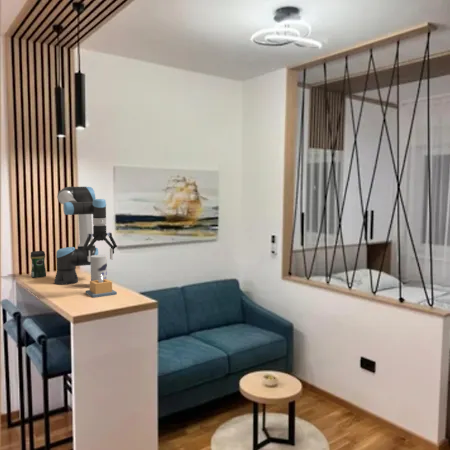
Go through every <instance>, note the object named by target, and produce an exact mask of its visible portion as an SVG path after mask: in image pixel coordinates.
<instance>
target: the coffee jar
mask: <svg viewBox="0 0 450 450" xmlns="http://www.w3.org/2000/svg"><path fill="white" fill-rule="evenodd" d="M45 252H46V251H44V250H37V251H36V250H35V251H31V252H30V259H31V272H30V273H31V274H30V275H31V278H44V277H47V272H46V271H47V270H46V264H45V259H46V253H45Z"/></svg>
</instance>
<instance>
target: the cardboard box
mask: <svg viewBox="0 0 450 450" xmlns="http://www.w3.org/2000/svg"><path fill="white" fill-rule="evenodd" d="M103 281H104V282H102V283H98V280H94V281H91V280H90V281H89V290H90V291H91V292H93V293H95V294H100V293H107V292H112V290H113V281H111V280H109V279H108V278H107V279H103Z"/></svg>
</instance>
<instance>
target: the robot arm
mask: <svg viewBox="0 0 450 450" xmlns="http://www.w3.org/2000/svg"><path fill="white" fill-rule="evenodd" d="M56 197H57V200H58V202H59V203H60V204H62V205H63V214H64V215H66V216H67V215H69V216H73V215H74V216H75V215H78V235H79V243H78V244H77V248H75V247H74V246H69V247H68V246H67V247H62V248H59V249H57V251H56V256H55V258H56V272H55V273H56V274H55V276H54V284H55V285H72V284H73V285H74V284H77V283H79V277H78V273H77V271H76V267H80V266H84V267H85V266H91V256H93V255H99V249H98V247H96V245H95V244H96V242H100V241H101V242H103V241H105V243H106V244H107V245H108V246H109V247H110V248H109V260H111V261H112V260H113V259H114V253H115V249H116V248H117V247H118V245H117V243H116V241H115V239H114V238H113V234H112V232H111V231H110V232H107V201H106V200H107V199H104V198H97V197H96V193H95V190H94V188H93V187H91V186H67V187H64V188H61V189H60V190H59V191H58V193H57V196H56ZM107 237H108V238H109V239H108V238H107ZM109 240H110V241H109Z"/></svg>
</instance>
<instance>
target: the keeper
mask: <svg viewBox="0 0 450 450" xmlns="http://www.w3.org/2000/svg"><path fill="white" fill-rule="evenodd" d="M102 282H104V281H103V275H102V274H99V275H98V283H102ZM85 294H87V295H88V296H90V297H91V298H93V299H95V298H102V297H108V296H115V295H117V294H118V293H117V291H116V290H113V289H112V292H107V293H100V294H95V293H93V292H91V291H90V289H89V290H88V289H87V290H85Z"/></svg>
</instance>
